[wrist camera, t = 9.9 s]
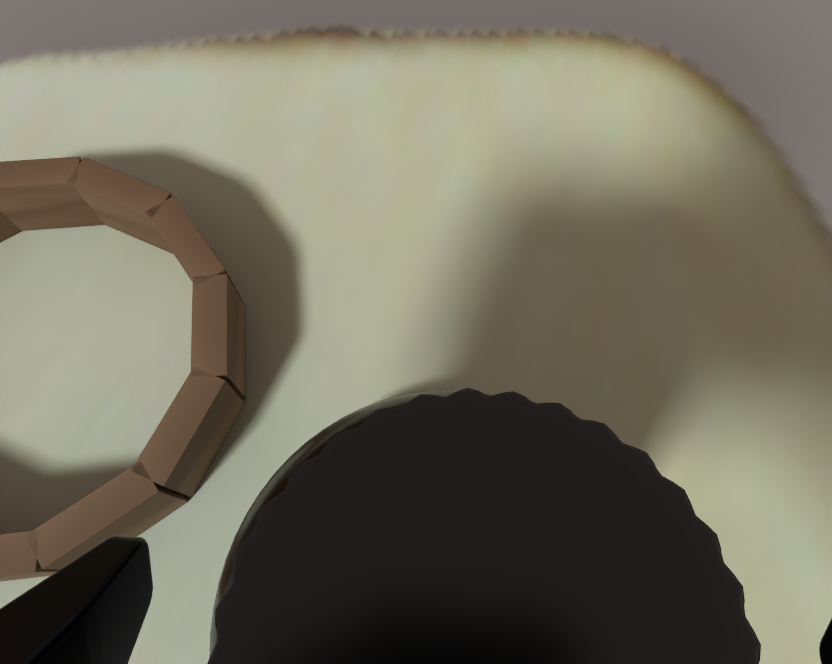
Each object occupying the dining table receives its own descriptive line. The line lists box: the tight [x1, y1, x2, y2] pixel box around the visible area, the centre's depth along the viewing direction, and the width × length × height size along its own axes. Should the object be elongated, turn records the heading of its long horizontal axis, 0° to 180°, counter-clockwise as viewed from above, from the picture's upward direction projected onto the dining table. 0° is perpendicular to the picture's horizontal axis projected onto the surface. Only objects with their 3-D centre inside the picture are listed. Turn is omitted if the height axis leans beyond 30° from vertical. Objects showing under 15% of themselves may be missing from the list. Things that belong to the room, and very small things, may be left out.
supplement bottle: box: [208, 388, 761, 664], centre depth 11 cm, size 7×7×12 cm
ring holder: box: [0, 157, 246, 581], centre depth 18 cm, size 13×13×2 cm
